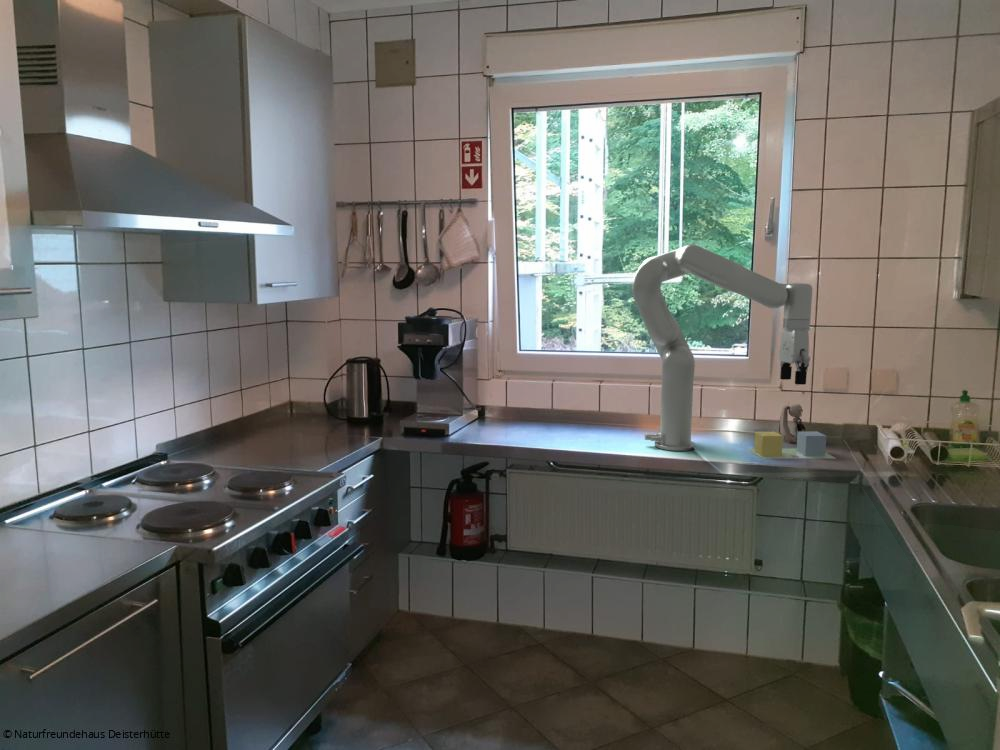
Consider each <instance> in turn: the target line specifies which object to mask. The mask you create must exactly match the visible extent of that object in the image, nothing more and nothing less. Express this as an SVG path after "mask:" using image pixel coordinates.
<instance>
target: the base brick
mask: <svg viewBox="0 0 1000 750" xmlns="http://www.w3.org/2000/svg"><path fill="white" fill-rule="evenodd" d="M796 438H797V439H796V440H797V442H796V448H795V449H796V451H797V452H799V453H801V454H803V455H804V456H825V453H826V448H827V435H825V434H824V433H821V432H819V431H809V430H807V431H806V432H798V434H797V435H796Z"/></svg>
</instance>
